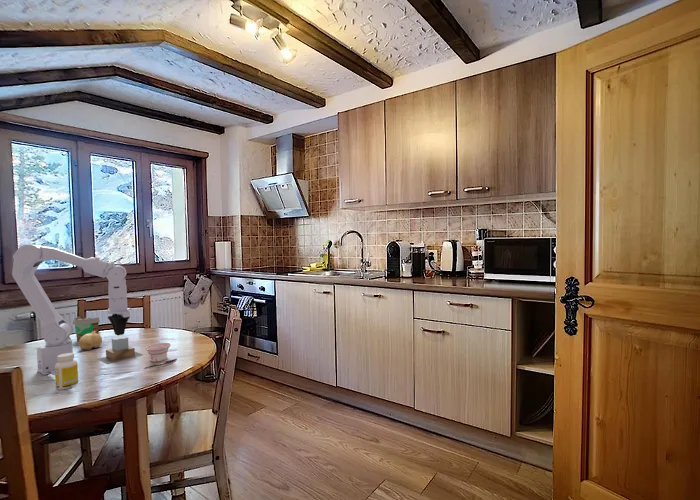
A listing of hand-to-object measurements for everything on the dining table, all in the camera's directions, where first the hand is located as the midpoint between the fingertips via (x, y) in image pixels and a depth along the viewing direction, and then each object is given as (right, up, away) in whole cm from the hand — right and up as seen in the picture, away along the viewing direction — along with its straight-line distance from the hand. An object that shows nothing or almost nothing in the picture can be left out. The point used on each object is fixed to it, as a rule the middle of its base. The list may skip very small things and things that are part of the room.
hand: (119, 334), depth 134 cm
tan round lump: (-22, -10, +16) cm, 29 cm away
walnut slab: (0, -8, 0) cm, 8 cm away
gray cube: (0, -5, 0) cm, 5 cm away
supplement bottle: (-1, -10, -24) cm, 26 cm away
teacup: (+17, -10, -4) cm, 20 cm away
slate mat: (0, -9, 0) cm, 9 cm away
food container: (-35, -10, +29) cm, 46 cm away
